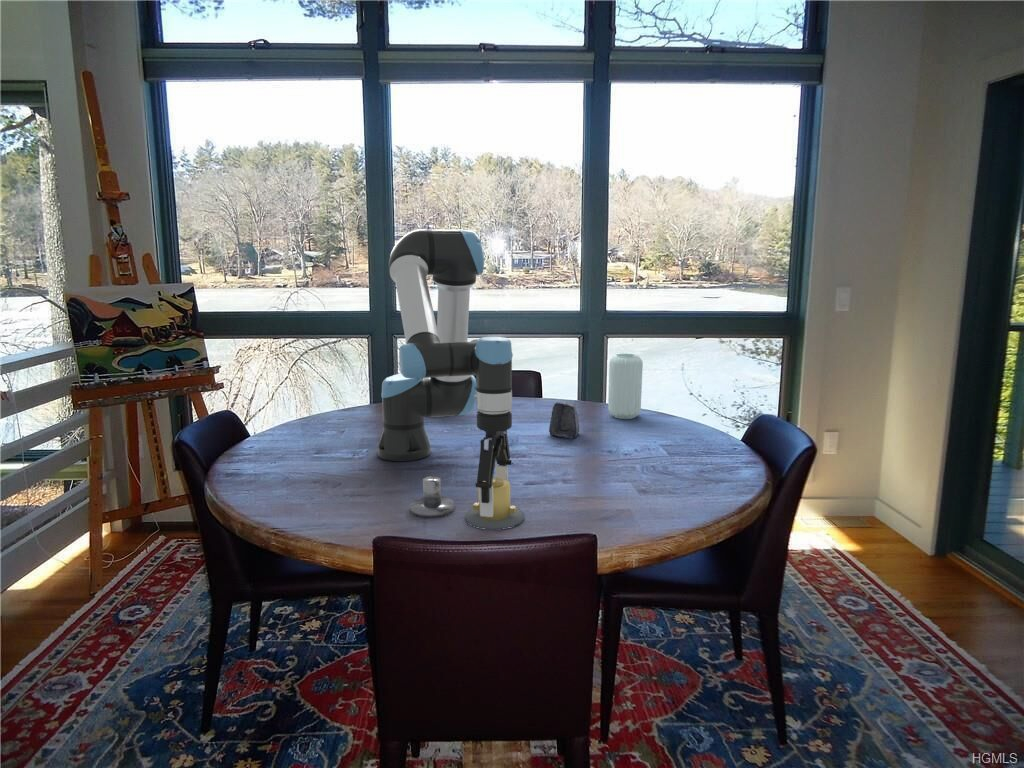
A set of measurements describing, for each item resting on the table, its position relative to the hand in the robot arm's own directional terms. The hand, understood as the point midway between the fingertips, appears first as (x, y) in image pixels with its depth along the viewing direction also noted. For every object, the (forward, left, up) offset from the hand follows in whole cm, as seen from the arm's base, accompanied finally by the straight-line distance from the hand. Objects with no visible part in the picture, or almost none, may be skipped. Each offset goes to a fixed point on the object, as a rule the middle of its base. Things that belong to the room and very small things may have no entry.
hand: (494, 504), depth 143 cm
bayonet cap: (0, 0, -2) cm, 2 cm away
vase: (+23, +98, -3) cm, 101 cm away
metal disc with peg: (-15, +1, -3) cm, 15 cm away
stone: (+6, +70, -4) cm, 71 cm away
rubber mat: (0, 0, -3) cm, 3 cm away
